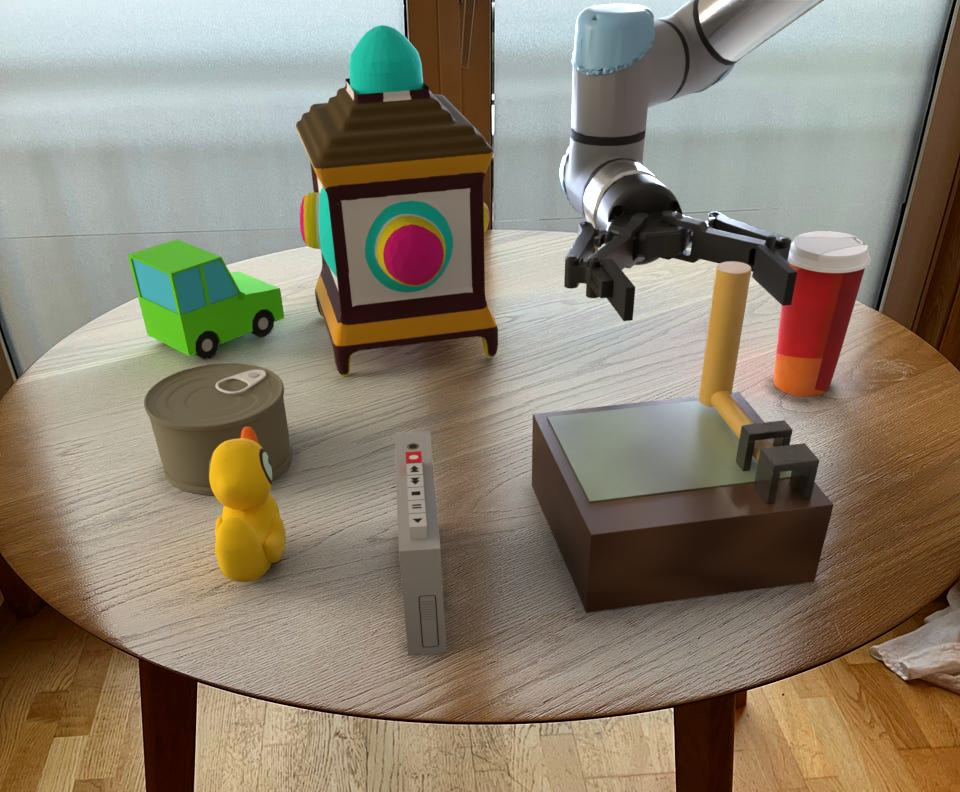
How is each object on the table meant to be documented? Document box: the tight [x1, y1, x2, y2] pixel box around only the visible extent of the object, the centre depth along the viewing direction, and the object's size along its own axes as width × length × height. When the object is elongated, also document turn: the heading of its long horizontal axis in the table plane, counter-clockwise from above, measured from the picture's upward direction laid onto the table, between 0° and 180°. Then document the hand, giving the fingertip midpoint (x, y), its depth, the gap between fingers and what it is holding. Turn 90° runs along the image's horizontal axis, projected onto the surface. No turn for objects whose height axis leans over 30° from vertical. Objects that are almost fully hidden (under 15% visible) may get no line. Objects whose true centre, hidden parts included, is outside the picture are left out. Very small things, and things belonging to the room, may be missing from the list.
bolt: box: [698, 261, 774, 463], centre depth 75 cm, size 3×12×11 cm, turn 11°
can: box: [143, 362, 293, 496], centre depth 89 cm, size 12×12×7 cm
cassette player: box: [394, 430, 447, 656], centre depth 73 cm, size 16×3×10 cm, turn 5°
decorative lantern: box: [295, 24, 499, 377], centre depth 101 cm, size 20×20×30 cm
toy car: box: [127, 238, 285, 360], centre depth 109 cm, size 10×13×10 cm
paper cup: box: [772, 230, 871, 397], centre depth 96 cm, size 8×8×14 cm
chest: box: [531, 391, 835, 614], centre depth 78 cm, size 18×18×10 cm
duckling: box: [209, 427, 287, 583], centre depth 76 cm, size 11×5×10 cm, turn 1°
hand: (710, 297), depth 80 cm, fingers open, 13 cm apart
